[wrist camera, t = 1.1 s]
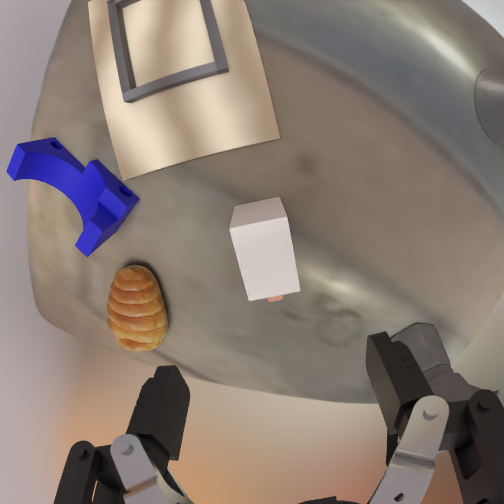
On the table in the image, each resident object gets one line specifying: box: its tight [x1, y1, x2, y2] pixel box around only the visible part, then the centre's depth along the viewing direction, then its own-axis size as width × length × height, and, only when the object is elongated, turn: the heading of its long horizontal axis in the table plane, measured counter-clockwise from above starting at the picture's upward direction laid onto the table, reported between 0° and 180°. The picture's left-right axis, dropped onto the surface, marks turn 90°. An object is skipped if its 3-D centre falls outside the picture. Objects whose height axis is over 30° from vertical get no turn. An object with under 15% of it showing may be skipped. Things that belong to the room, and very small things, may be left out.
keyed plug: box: [229, 197, 300, 302], centre depth 23 cm, size 4×7×6 cm, turn 13°
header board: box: [88, 0, 280, 181], centre depth 18 cm, size 14×20×2 cm
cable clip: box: [7, 137, 139, 257], centre depth 21 cm, size 12×4×6 cm, turn 46°
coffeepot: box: [386, 323, 500, 467], centre depth 24 cm, size 15×9×18 cm, turn 144°
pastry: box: [107, 265, 168, 351], centre depth 27 cm, size 9×7×4 cm
